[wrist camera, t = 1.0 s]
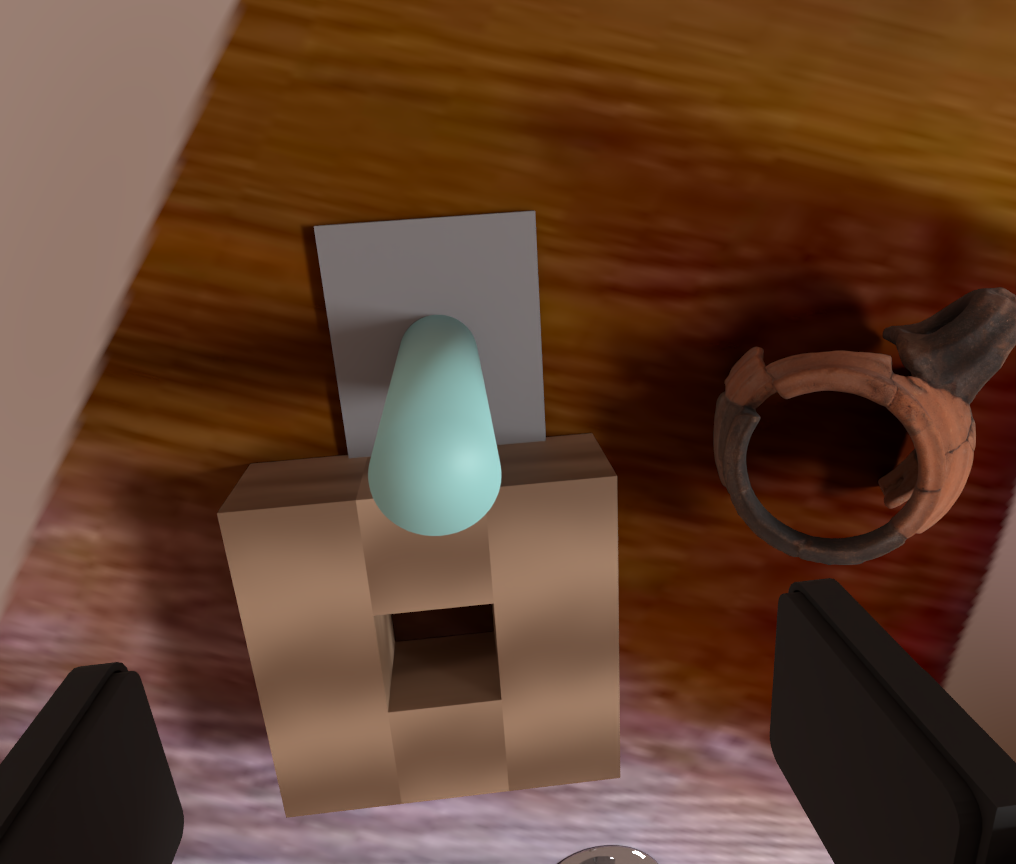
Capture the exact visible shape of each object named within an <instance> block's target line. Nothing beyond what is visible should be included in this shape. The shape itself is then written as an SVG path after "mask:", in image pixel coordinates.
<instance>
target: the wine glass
mask: <svg viewBox="0 0 1016 864" xmlns="http://www.w3.org/2000/svg"><path fill="white" fill-rule="evenodd" d="M559 864H658V863H657V862H656V861H655V860H654V859H653V858H652V857H650V856H649V855H648V854H646V853H644V852H642V851H640V850H637V849H633V848H630V847H624V846H600V847H594V848H590V849H586V850H583V851H581V852H578V853H576V854H573V855H572V856H570V857H568V858H566V859H564V860H563V861H562V862H560V863H559Z"/></svg>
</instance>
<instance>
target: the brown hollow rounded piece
mask: <svg viewBox="0 0 1016 864" xmlns="http://www.w3.org/2000/svg"><path fill="white" fill-rule="evenodd" d="M883 338H884V339H886V340H888V341H890V342H891V343H893V344H895V345H896V346H897V349H898V352H899V356H900V359H901V361H902V363H903V365H904V366H905V368H906V369H907V370H909V371H910V372H911V375H912V376H913V377H912V376H907V377H905V376H900V375H897V374H894V373H893V371H892V358H891V356H888V355H885V354H879V353H878V354H876V353H869V352H852V351H844V350H839V351H829V352H819V353H804V354H798V355H794V356H790V357H786V358H783V359H780V360H778V361H775V362H773V363H770V364H769V365H767V366H766V365H765V363H764V361H763V357H764V356H763V354H764V350H763V349H762V348H760V347H753V348H751V349H750V350H749V351H748V352H746V353H745V354H744V355H743V356H742V357H741V358H740V360H739V361H738V362H737V363H736V364H735V365H734V366H733V367H732V369H731V371H730V373H729V376H728V377H727V378H726V380H725V386H726V388H725V392H723V393H721V394H720V395H719V397H718V399H717V402H716V411H715V417H714V432H713V446H714V456H715V462H716V466H717V470H718V474H719V477H720V480H721V482H722V484H723V486H725V487H726V488H727V491H728V493H729V494H730V495H731V501H732V503H733V504H734V506H735V508H736V510H737V513H738V515H739V516H740V517H741V518H742V519H743V520H744V521H745V523H746V524H747V525H748V526H749V527H750V529H751V530H752V531H753V532H754V533H755V534H756V535H757V536H758V537H760V538H761V539H763V540H764V541H765V542H767V543H768V544H769V545H771V546H773V547H774V548H776V549H778V550H780V551H782V552H784V553H786V554H788V555H789V556H793V557H800V558H801V559H804V560H808V561H813V562H821V563H824V564H828V565H831V564H839V565H851V564H861V563H863V562H864V561H867V560H871V559H874V558H877V557H880V556H883V555H884V554H887V553H889V552H891V551H892V550H894V549H896V548H898V547H900V546H901V545H902V544H904V543H905V540H906V539H907V538H909V537H911V536H912V535H914V534H915V533H922V532H924V531H925V530H927V529H928V528H930V527H931V526H932V525H934V524H935V523H936V522H937V521H939V520H940V519H941V518H942V517H943V516H944V515H945V514H946V513H947V512H948V511H949V509H950V508H951V507H952V506H953V504H954V503H955V501H956V500H957V498H958V497H959V495H960V494H961V492H962V490H963V488H964V486H965V484H966V481H967V478H968V476H969V473H970V470H971V466H972V462H973V455H974V449H975V443H976V432H975V422H974V419H973V417H972V413H971V408H970V403H971V402H972V401H973V399H974V397H975V395H976V394H977V393H978V392H979V390H980V389H981V388H982V387H983V386H984V384H985V383H986V382H987V381H988V380H989V379H990V378H991V377H992V376H993V375H994V374H995V373H996V372H997V371H998V370H999V369H1000V368H1001V367H1002V365H1003V364H1004V362H1005V360H1006V358H1007V356H1008V354H1009V353H1010V351H1011V350H1012V349H1013V347H1014V346H1015V345H1016V296H1015V295H1014V294H1012V293H1011V292H1009V291H1008V290H1006V289H1004V288H1000V287H998V288H990V289H987V288H985V289H978V290H974V291H972V292H970V293H968V294H966V295H964V296H963V297H961V298H959V299H958V300H956V301H955V302H953V303H951V304H950V305H948V306H947V307H945V308H944V309H942V310H941V311H939V312H938V313H936V314H935V315H933V316H931V317H930V318H928V319H926V320H924V321H922V322H920V323H916V324H911V325H904V326H891V327H888V328H886V329H884V331H883ZM827 390H828V391H840V392H847V393H852V394H856V395H859V396H862V397H865V398H867V399H869V400H872V401H873V402H875V403H878V404H880V405H882V406H885V407H886V408H887V409H888V410H889V411H890V412H891V413H892V414H893V415H895V416H896V417H897V418H898V420H899V421H900V422H901V423H902V424H903V426H904V427H905V429H906V430H907V432H908V433H909V435H910V437H911V439H912V441H913V443H914V447H915V449H914V450H913V451H912V452H911V453H910V455H909V456H908V457H907V458H906V459H905V460H904V461H903V462H902V463H900V464H899V465H898V466H897V467H896V468H895V469H894V470H892V471H891V472H889V473H888V474H887V475H885V476H883V477H882V478H880V479H879V481H878V484H879V486H880V488H881V490H882V492H883V494H884V495H885V497H884V503H885V505H886V506H887V507H888V508H895V507H897V506H899V505H901V504H902V503H904V502H905V501H907V500H908V499H909V500H908V502H907V503H906V505H905V506H904V507H903V508H902V509H901V510H900V511H899V512H898V513H897V514H896V515H895V516H894V517H893V518H892V519H891V520H890V521H889V522H888V523H887V524H885V525H884V526H882V527H880V528H878V529H876V530H874V531H871V532H869V533H866V534H863V535H859V536H854V537H848V538H839V539H838V538H833V539H831V538H821V537H813V536H809V535H807V534H804V533H801V532H798V531H796V530H794V529H792V528H790V527H789V526H787V525H785V524H783V523H782V522H780V521H779V520H777V519H776V518H775V517H773V516H772V515H771V514H770V513H769V512H768V511H767V510H766V509H765V508H764V507H763V506H762V504H761V503H760V501H759V500H758V499H757V497H756V495H755V494H754V492H753V490H752V488H751V485H750V482H749V477H748V473H747V466H746V453H747V447H748V444H749V440H750V437H751V435H752V433H753V431H754V429H755V428H756V426H757V424H758V422H759V421H760V416H759V415H758V414H757V412H756V408H757V407H758V406H759V405H761V404H762V403H763V402H764V401H765V400H766V399H767V398H768V397H769V396H771V395H772V394H774V393H777V392H778V393H779V394H780V396H781V397H783V398H784V399H789V398H792V397H795V396H798V395H802V394H806V393H811V392H817V391H827Z"/></svg>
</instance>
